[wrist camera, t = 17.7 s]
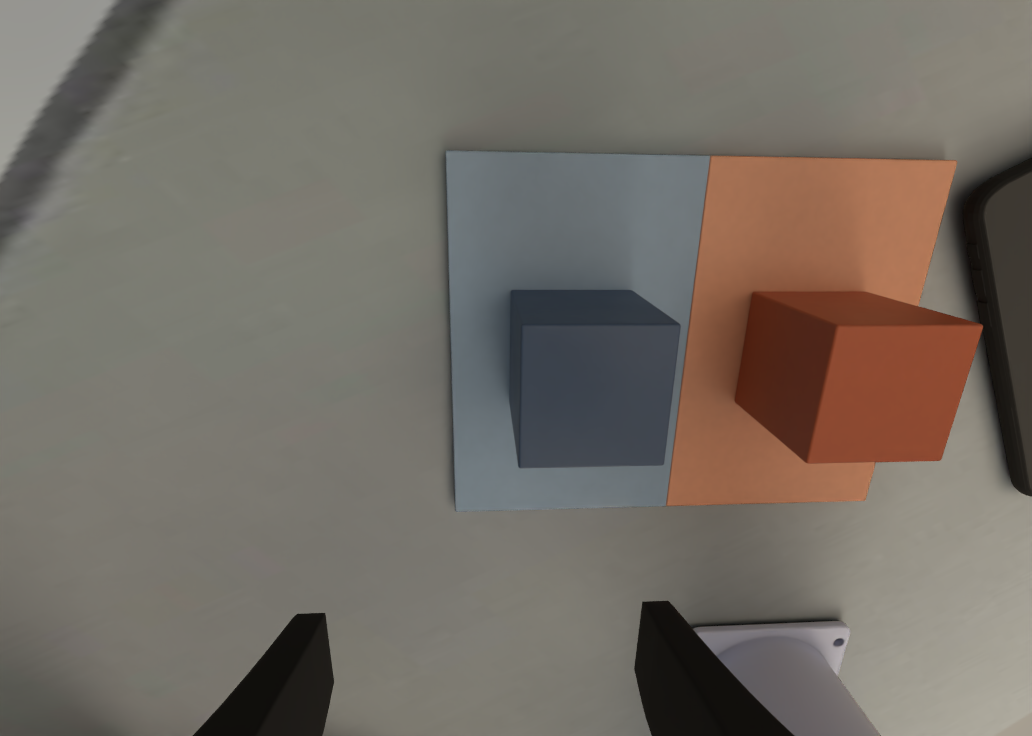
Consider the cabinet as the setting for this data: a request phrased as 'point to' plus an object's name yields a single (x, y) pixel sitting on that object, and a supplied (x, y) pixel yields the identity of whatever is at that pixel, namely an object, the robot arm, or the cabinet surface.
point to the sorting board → (669, 299)
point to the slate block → (590, 378)
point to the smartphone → (1006, 303)
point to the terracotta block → (854, 375)
